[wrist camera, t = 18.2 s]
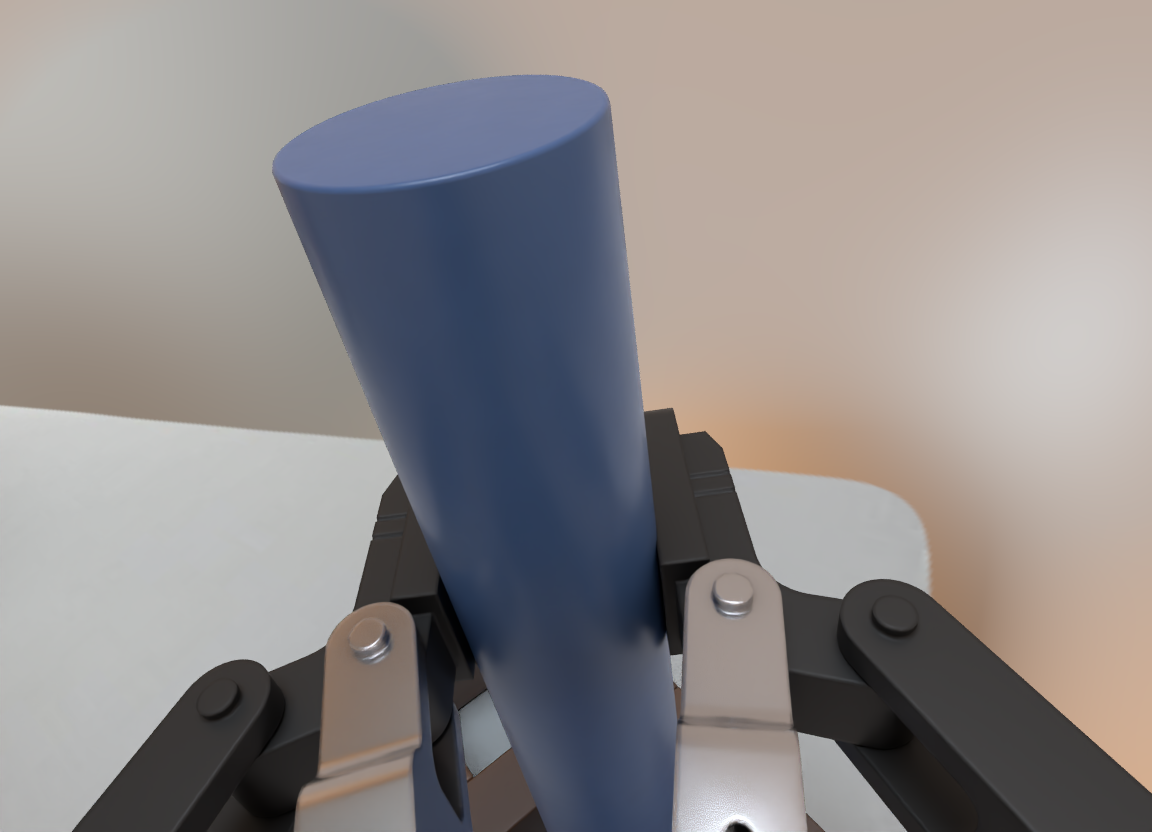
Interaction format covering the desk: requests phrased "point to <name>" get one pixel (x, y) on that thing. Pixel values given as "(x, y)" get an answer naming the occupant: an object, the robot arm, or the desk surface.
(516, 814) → the frame
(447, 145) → the peg
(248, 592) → the desk surface
